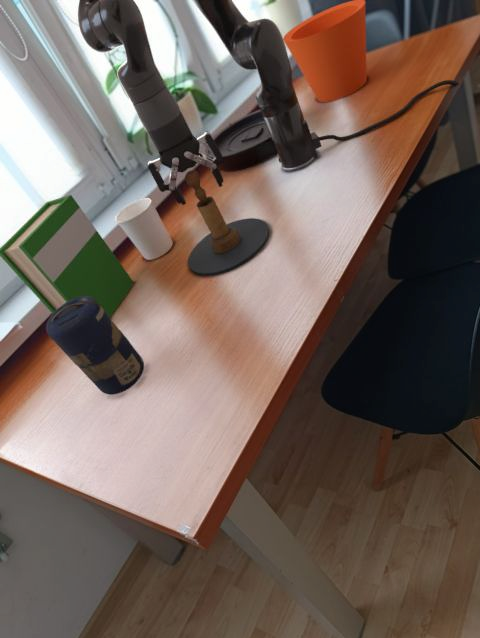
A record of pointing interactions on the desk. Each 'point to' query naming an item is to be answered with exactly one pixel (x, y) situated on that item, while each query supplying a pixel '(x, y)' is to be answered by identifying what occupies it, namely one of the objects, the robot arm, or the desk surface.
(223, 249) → the brown wooden turned piece
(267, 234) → the disc
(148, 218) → the white cup
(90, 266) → the hardback book
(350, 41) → the flowerpot
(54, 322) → the canister
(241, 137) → the black round plastic slab
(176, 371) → the desk surface
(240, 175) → the desk surface
